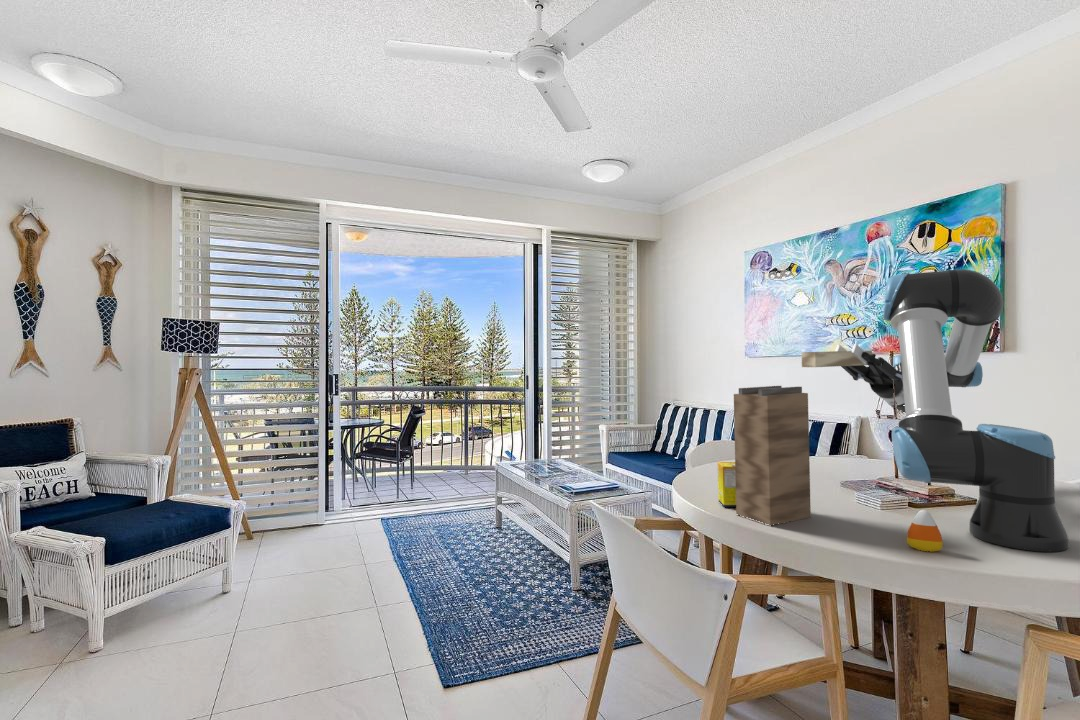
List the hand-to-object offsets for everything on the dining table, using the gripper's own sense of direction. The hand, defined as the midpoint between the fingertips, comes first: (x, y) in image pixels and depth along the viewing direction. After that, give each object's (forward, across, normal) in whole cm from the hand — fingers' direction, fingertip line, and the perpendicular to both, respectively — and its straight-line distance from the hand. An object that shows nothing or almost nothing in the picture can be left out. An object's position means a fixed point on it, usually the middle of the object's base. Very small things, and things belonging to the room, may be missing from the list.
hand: (845, 348), depth 144 cm
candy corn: (+2, -32, -48) cm, 58 cm away
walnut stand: (+8, -2, -51) cm, 52 cm away
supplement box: (+8, +10, -52) cm, 54 cm away
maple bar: (+1, 0, -6) cm, 6 cm away
